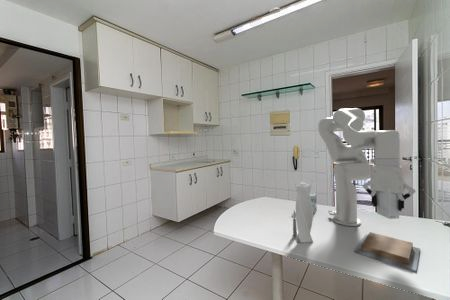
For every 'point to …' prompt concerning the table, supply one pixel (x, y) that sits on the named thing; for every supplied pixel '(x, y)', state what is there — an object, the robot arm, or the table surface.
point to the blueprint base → (389, 250)
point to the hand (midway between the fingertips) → (387, 207)
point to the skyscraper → (303, 213)
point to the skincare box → (387, 204)
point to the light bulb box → (313, 201)
